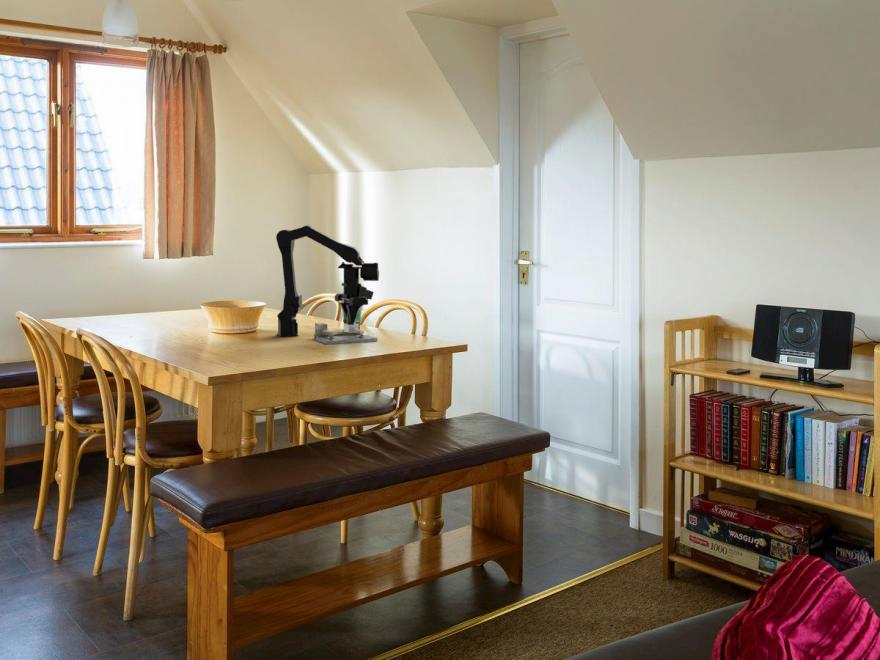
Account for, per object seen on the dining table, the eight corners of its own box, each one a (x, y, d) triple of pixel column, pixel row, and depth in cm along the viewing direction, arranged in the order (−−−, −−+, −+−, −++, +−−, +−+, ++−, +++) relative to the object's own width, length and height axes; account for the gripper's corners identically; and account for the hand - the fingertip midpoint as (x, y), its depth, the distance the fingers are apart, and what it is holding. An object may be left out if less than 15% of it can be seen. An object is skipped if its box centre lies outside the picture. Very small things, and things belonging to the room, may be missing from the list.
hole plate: (325, 344, 321) (325, 340, 321) (315, 340, 330) (315, 337, 330) (377, 341, 330) (377, 337, 330) (366, 337, 339) (366, 334, 339)
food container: (357, 332, 355) (357, 306, 354) (342, 331, 356) (342, 306, 355) (366, 328, 367) (366, 303, 366) (352, 327, 368) (351, 303, 367)
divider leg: (357, 336, 331) (357, 313, 330) (343, 331, 343) (343, 310, 342) (367, 335, 333) (367, 313, 332) (353, 331, 345) (353, 309, 344)
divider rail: (326, 342, 326) (326, 327, 325) (313, 337, 337) (313, 323, 337) (372, 339, 334) (372, 324, 334) (358, 335, 346) (358, 320, 345)
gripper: (381, 281, 335) (381, 323, 337) (361, 278, 351) (361, 318, 353) (353, 282, 329) (353, 325, 331) (334, 279, 346) (334, 319, 348)
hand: (351, 322), depth 341 cm, fingers closed on divider leg, 3 cm apart
